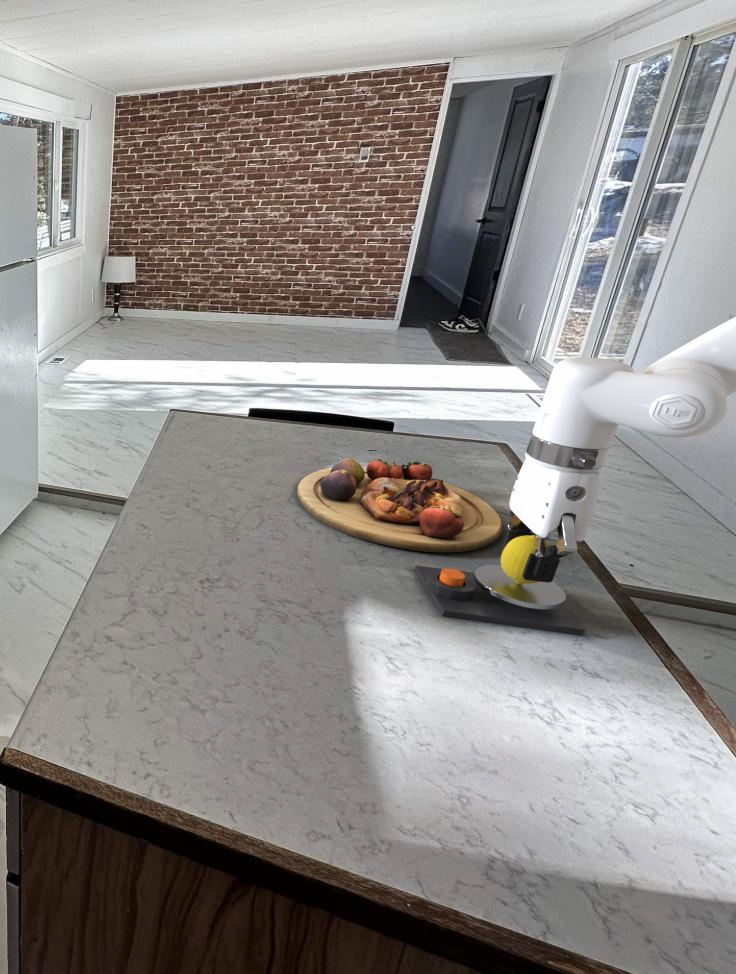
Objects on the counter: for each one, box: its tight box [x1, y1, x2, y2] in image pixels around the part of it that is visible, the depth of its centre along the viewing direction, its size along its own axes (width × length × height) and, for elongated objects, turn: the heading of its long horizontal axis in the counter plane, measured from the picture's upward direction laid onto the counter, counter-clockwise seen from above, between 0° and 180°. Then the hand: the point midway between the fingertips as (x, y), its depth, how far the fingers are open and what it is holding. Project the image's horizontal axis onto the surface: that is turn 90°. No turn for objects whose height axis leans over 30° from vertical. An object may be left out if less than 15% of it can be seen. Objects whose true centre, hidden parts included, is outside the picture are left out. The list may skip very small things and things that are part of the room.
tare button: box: [439, 567, 465, 587], centre depth 95 cm, size 3×3×2 cm
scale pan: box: [474, 564, 567, 610], centre depth 92 cm, size 10×10×1 cm
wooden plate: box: [296, 457, 504, 553], centre depth 120 cm, size 32×32×8 cm
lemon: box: [500, 535, 551, 584], centre depth 91 cm, size 6×6×8 cm
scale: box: [413, 565, 585, 637], centre depth 94 cm, size 16×12×4 cm
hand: (525, 566), depth 91 cm, fingers closed on lemon, 5 cm apart
